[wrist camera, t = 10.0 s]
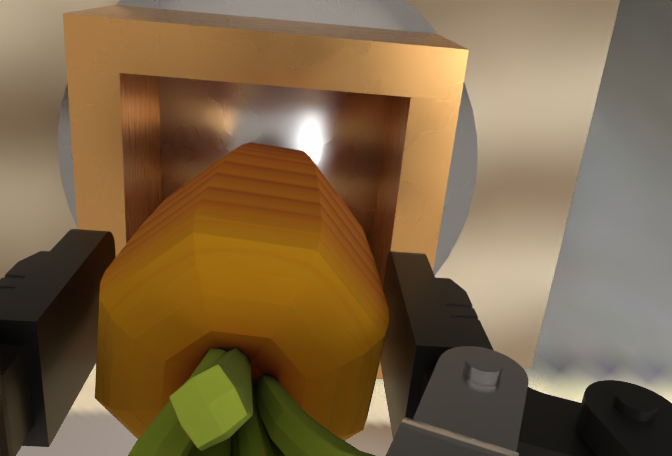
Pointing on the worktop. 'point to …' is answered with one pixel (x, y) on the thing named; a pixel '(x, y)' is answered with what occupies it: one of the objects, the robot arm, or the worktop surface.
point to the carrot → (243, 316)
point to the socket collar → (270, 110)
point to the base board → (490, 121)
